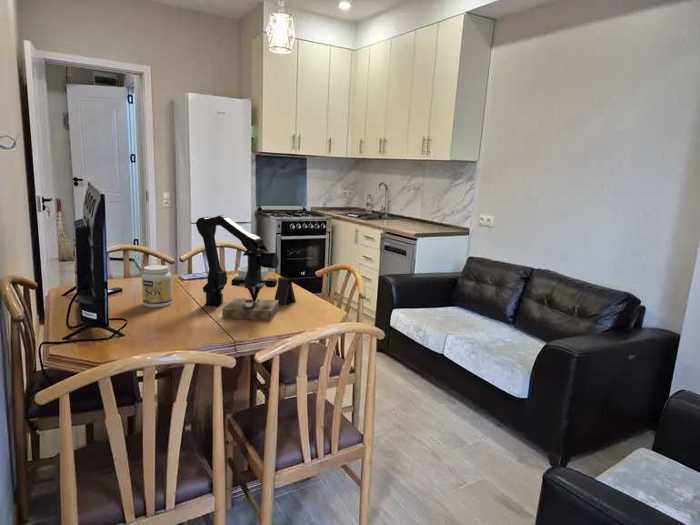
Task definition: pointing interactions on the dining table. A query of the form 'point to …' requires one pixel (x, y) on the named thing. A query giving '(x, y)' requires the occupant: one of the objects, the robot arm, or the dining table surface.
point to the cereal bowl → (243, 270)
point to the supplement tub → (156, 286)
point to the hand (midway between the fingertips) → (254, 301)
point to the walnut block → (258, 311)
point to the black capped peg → (248, 304)
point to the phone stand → (285, 292)
